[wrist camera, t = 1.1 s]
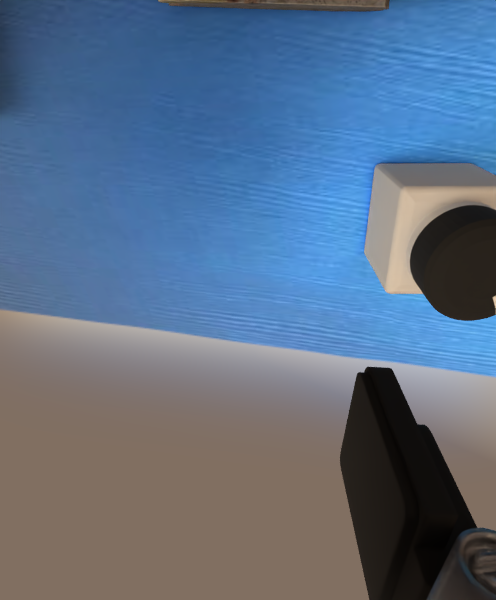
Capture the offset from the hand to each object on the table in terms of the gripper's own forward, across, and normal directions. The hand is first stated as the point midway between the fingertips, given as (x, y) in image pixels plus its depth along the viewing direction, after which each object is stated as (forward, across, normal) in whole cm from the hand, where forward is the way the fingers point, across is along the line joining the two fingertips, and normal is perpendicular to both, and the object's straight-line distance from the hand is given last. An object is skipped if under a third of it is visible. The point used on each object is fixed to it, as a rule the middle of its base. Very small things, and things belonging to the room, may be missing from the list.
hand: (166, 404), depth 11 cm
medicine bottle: (+25, -15, +2) cm, 29 cm away
